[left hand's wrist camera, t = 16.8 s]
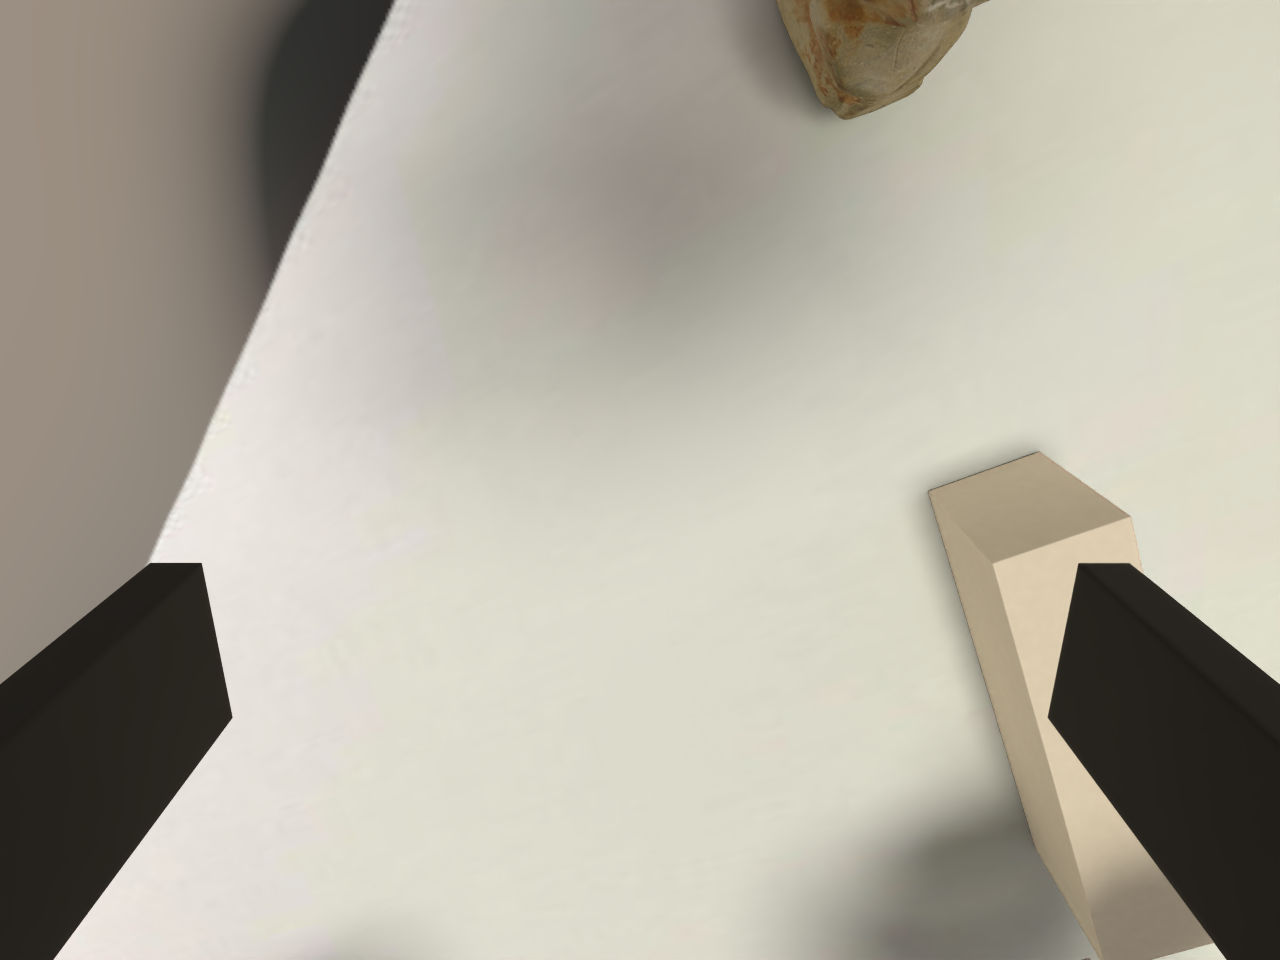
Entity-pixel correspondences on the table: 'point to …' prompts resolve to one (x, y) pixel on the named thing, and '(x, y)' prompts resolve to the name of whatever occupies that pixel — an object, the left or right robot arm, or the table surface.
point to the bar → (1023, 684)
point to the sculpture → (871, 46)
